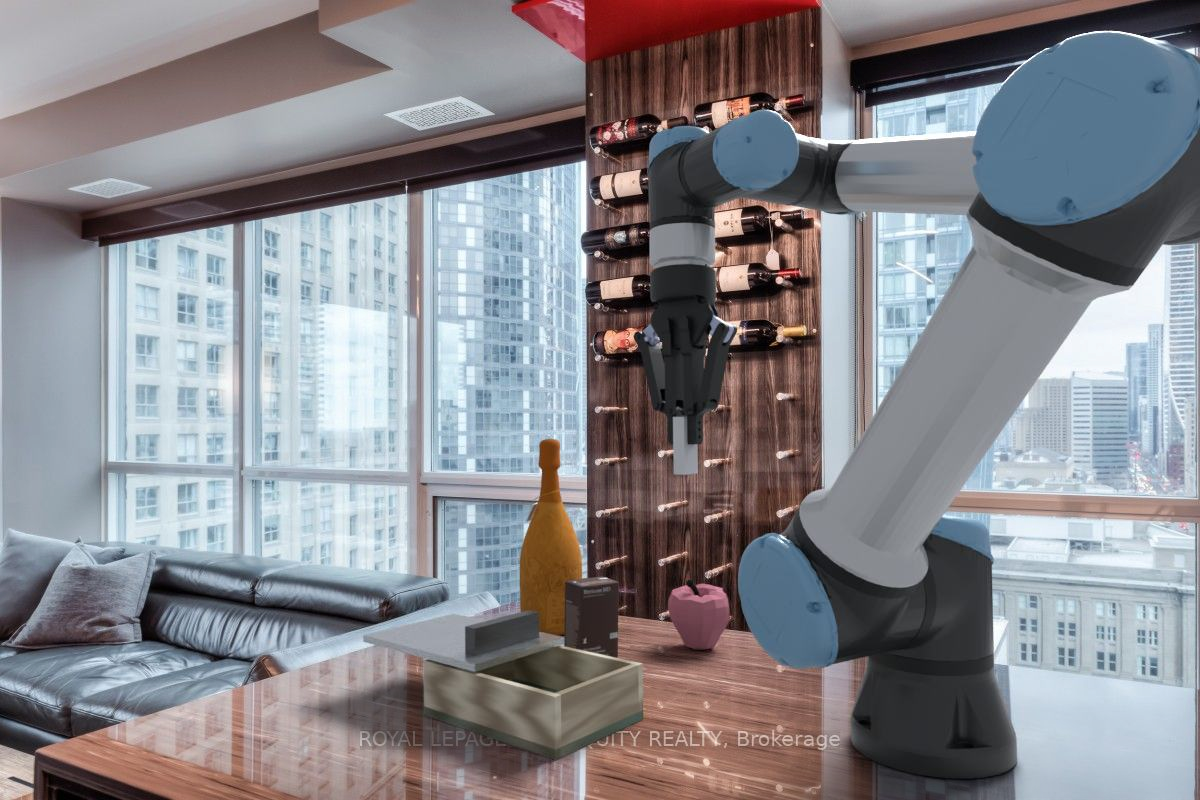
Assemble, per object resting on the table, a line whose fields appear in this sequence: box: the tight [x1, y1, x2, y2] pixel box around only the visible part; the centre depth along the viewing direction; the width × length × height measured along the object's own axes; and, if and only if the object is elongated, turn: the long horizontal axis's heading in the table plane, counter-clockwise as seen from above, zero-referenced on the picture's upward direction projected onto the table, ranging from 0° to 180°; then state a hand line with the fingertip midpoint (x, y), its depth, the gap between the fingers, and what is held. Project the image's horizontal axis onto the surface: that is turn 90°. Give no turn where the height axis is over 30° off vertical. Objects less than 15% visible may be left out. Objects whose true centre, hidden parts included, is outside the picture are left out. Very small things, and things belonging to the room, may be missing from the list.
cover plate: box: [362, 610, 564, 672], centre depth 98 cm, size 20×14×4 cm
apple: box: [667, 579, 731, 651], centre depth 118 cm, size 10×9×10 cm
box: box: [563, 576, 620, 658], centre depth 106 cm, size 6×4×12 cm
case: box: [423, 645, 644, 761], centre depth 91 cm, size 20×14×6 cm
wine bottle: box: [519, 438, 583, 636], centre depth 130 cm, size 10×10×30 cm
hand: (685, 473), depth 94 cm, fingers closed
